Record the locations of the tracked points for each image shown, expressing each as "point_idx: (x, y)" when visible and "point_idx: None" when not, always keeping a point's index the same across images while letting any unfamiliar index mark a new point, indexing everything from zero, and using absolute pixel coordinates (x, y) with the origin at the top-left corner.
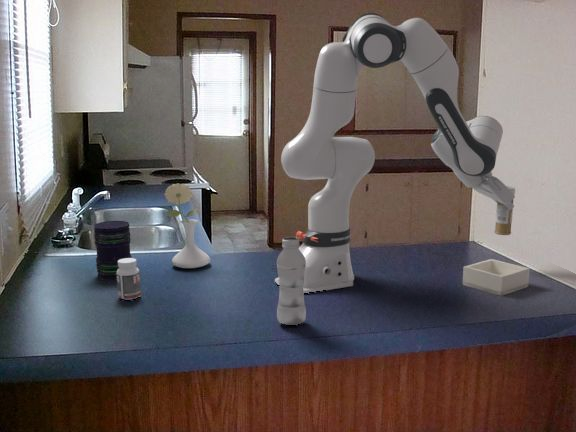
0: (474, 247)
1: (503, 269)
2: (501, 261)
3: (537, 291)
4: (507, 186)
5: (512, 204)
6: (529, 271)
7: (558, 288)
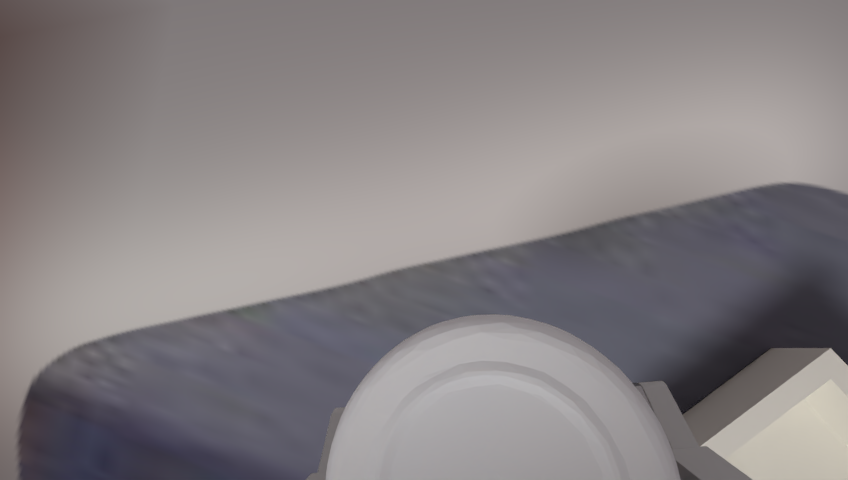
0: (122, 378)
1: None
2: None
3: (845, 333)
4: (408, 442)
5: (678, 409)
6: (819, 349)
7: (785, 225)
